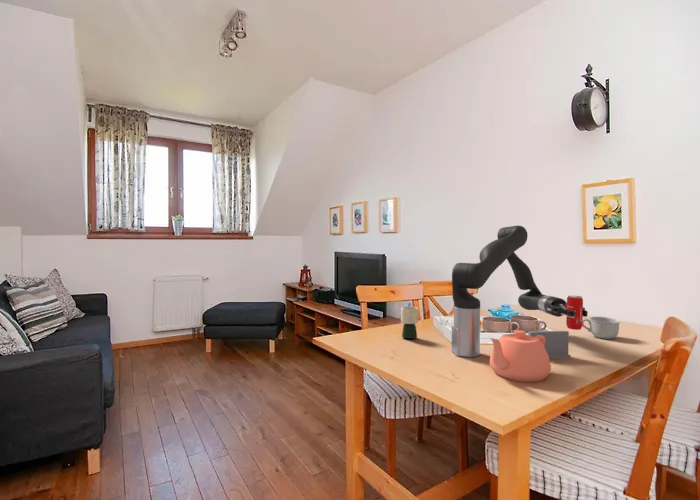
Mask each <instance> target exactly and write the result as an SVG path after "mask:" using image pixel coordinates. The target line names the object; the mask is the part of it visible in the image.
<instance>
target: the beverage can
mask: <svg viewBox="0 0 700 500" xmlns="http://www.w3.org/2000/svg"><path fill="white" fill-rule="evenodd" d="M566 303H567V310H568V311H569V310H573V311H575V316H574V317H571V316H568V315H566V327H567V328H568V329H569V330H574V331H575V330H576V331H580V330H582V328H583V326H582V324H583V319H584V316H583V307H584V299H583V296H580V295H567V298H566Z"/></svg>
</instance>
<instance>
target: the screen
mask: <svg viewBox="0 0 700 500" xmlns="http://www.w3.org/2000/svg"><path fill="white" fill-rule="evenodd" d="M527 333H528V336H532V337H534V336H537V335H542V336H544V337H545V345H544V348H545V350H546V352H547V354H548V356H549V359H571V354H569V343H570V342H569V338H570V336H569V334H570V333H569V331H567V330H550V331H549V330H543V331H542V330H540V331H539V330H538V331H537V330H536V331H534V330H533V331H531V330H530V331H528V332H527Z"/></svg>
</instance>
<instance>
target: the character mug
mask: <svg viewBox="0 0 700 500" xmlns="http://www.w3.org/2000/svg"><path fill="white" fill-rule="evenodd" d="M400 311H401V312H400V321H401V323H402V324H403V326H402V327H403V328H402V335H401V337H402V338H403V339H410V340H411V339H416V338H418V335H417V334H418V333H417V326H416V324H417V323H418V322H419V307H417V306H401V308H400Z"/></svg>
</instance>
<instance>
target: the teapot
mask: <svg viewBox="0 0 700 500" xmlns="http://www.w3.org/2000/svg"><path fill="white" fill-rule="evenodd" d="M489 339H490V340H491V341H492V344H493V347H492V348H493V349H492V351H491V353H490V356H489V357H490V358H489V365H490V368H491V369H492V371H493V373H495V374H496V375H498V376H499V377H502V378H504V379H508V380H511V381H513V382H514V381H515V382H520V383H535V382H537V383H538V382H541V381H543V380H544V379H546V378H547V377H548V376H549V374H551V370H552V364H551V361H550V359H551V358H549V356H548V354H547V352H546V350H545V348H544V345H545V337H544V336H542V335H537V336H534V337H532V336H528V335H527V332H526V331H525V330H521V329H517V330H516V329H515V330H513V333H507V334H503V335H501V336H499V338H498V339H496V338H492V337H489Z"/></svg>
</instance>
